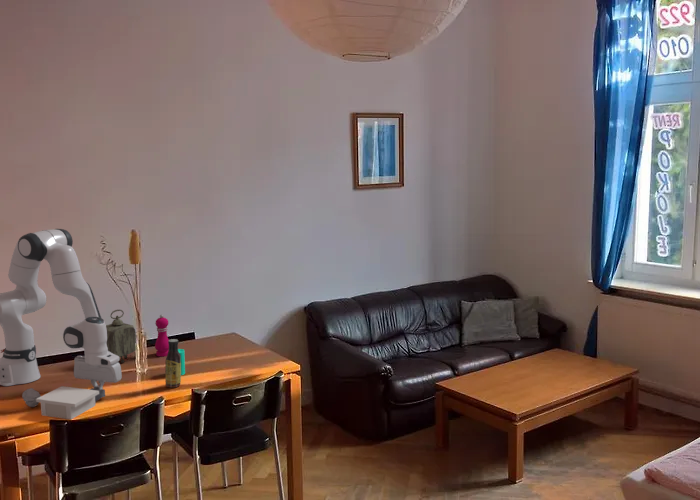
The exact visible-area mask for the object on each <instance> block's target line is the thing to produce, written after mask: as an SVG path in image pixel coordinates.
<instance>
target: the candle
mask: <svg viewBox="0 0 700 500" xmlns="http://www.w3.org/2000/svg"><path fill="white" fill-rule="evenodd" d="M178 352H179V353H180V356H181V376H183V375H185V374H186V361H185V360H186V358H185V349H183V348H178Z"/></svg>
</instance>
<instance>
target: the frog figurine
mask: <svg viewBox="0 0 700 500" xmlns="http://www.w3.org/2000/svg"><path fill="white" fill-rule="evenodd" d="M21 396H22V397H21V398H22V399H23V401H24V404H25V405H26V406H28V407H29V408H34V407H35V408H36V406H38V405H39V404H40V402H36V399H37V398H39V397H41V396H42V395H41V393H40V392H39V391H37V390H35V389H34V388H27V389H26V390H24V391H23V392H22V394H21Z"/></svg>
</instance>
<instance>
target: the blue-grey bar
mask: <svg viewBox="0 0 700 500" xmlns="http://www.w3.org/2000/svg"><path fill="white" fill-rule="evenodd" d="M89 390H97V391H99V394H98V395H96V396H95V403H96V402H98V401H100V400H101V399H103V398H105V397H106V390H105V389H95V388H94V387H91V388H90V389H89ZM102 397H103V398H102ZM100 398H101V399H100Z"/></svg>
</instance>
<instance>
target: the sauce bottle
mask: <svg viewBox="0 0 700 500" xmlns="http://www.w3.org/2000/svg"><path fill="white" fill-rule="evenodd" d="M168 344H169V351H168V354H167V356H165V357H166V358H165V366H164V367H165V369H164V370H165V373H164V374H165V379H164V380H165V386H166V387H167V388H173V389H174V388H175V389H176V388H177V387H179V386H181V380H182V375H181V356H180V353H179V352H178V349H179V340H178V339H176V338H173V339H172V338H171V339H169V341H168Z"/></svg>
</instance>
